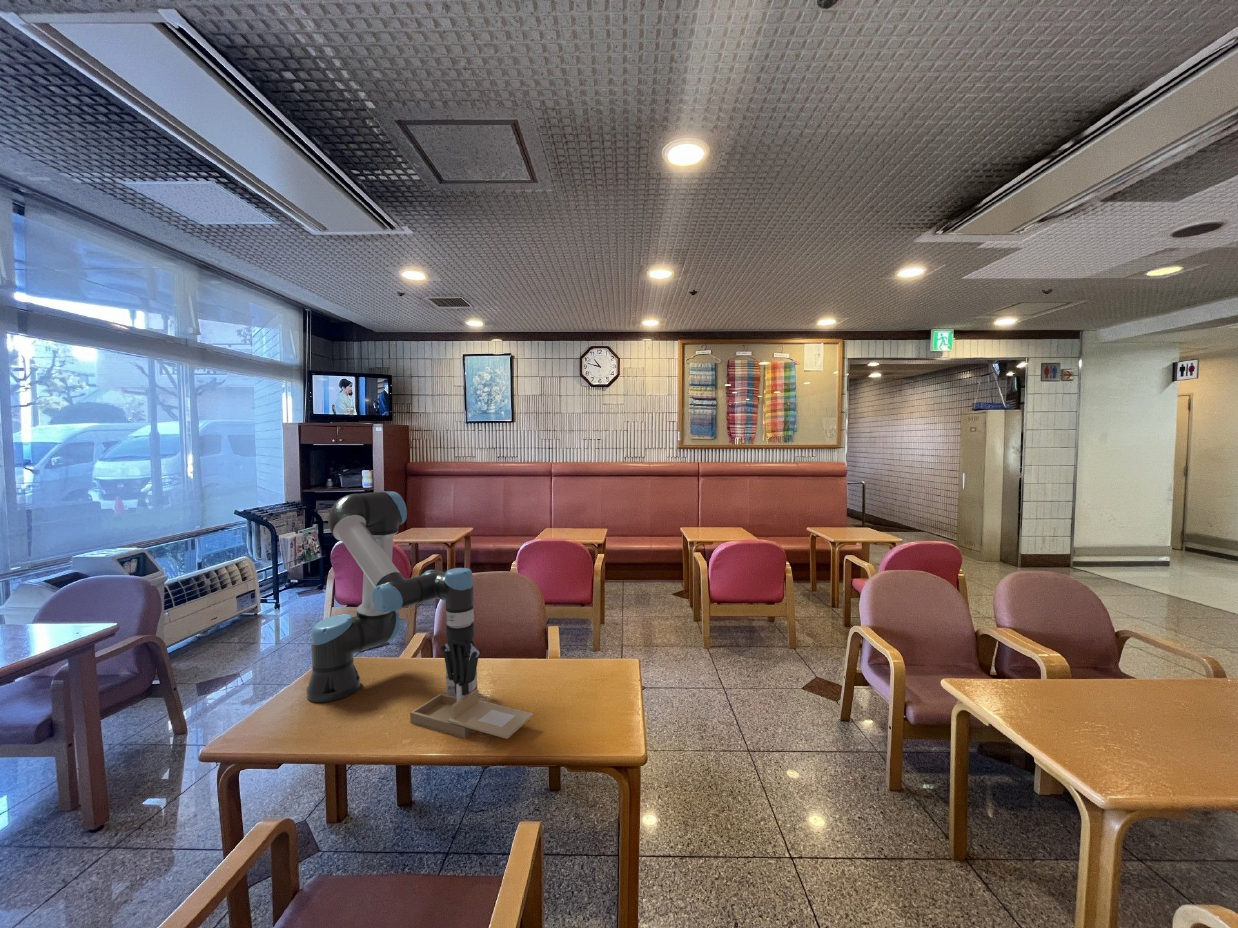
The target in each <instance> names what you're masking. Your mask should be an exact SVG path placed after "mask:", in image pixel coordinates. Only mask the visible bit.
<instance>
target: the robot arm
mask: <svg viewBox="0 0 1238 928" xmlns="http://www.w3.org/2000/svg"><path fill="white" fill-rule="evenodd" d="M407 516H408V511H407V505H406V503H405V501H404V499H403V497H402V496H401V494H400V493H398V492H396V491H392V490H391V491H384V490H383V491H382V490H381V491H373V492H364V493H363V492H362V493H351V494H347V495H345V496H343V497H340V498H339V499H338V500H337V501H336V502H335V503H334V504H333V506H332V507H331V508H330V511H329V513H328V520H327V521H328V522H327V523H328V528H329V530H330V532H331V534H332V535H333V537H334V539H336V540H337V541H341V542H342V543H343V544H344V546H345V548H346V549H347V551H348V552H349V553H350V554H351V556H352V558H353V559H354V560H355V562H356V563H357V565H358V567H359V568H360V569H361V571H362V572H363V577H362V579H363V580H362V598H361V599H362V600H361V604H360V605H357V608H356V615H355V616H353V615H350V614H347V613H345V614H344V613H341V614H339V615H337V614H335V615H331V616H329V617H325V618H324V619H321V620H320V621H318V622H317V623H315V624H314V626H313V627H312V628H311V635H310V636H311V638H310V644H311V646H310V647H311V668H312V669H311V670H312V671H311V676H310V678H309V681H308V686H307V688H306V698H307V700H308V701H310V702H311V703H327V702H334V701H337V700H340V699H344V698H346V697H348V696H351V695H352V694H354V693H355V692H357V691H358V690H359V689H360V687H361V678H360V675H359V672H358V670H357V668H356V666H355V662H354V654H355V653H358V652H362V651H365V650H369V649H371V648H374V647H377V646H381V645H385V644H386V643H388V642H391V641H393V640H394V639H395V638H397V636H398V634H399V632H400V630H401V626H402V625H401V622H402V621H401V617H400V611H399V610H400V609H404V608H407V607H411V606H415V605H417V604H422V603H426V602H430V601H433V600H437V599H439V600H442V601H445V614H446V615H445V617H446V618H445V621H446V631H445V632H446V635H445V636H446V639H447V642H446V643H445V644H444V645H442V646H440V650H441V652H442V654H443V657H444V663H445V669H446V668H447V673H448V678H449V680H453V682H454V683H455V694H456V696H457V702H458V701H459V700H461V699H462V698H464V697H465V696H467V694H468V693H469V683H470V682H472V681H474V679H475V674H476V668H477V669H478V662H479V657H480V655H481V653H482V650H481V648H479V649H477V648H476V647H475V642H474V640H473V639H474V635H475V624H474V622H475V621H474V620H475V616H474V615H475V613H474V612H475V611H474V584H475V583H474V579H473V571H472V570H471V568H468V567H467V568H466V567H455V568H451V569H448V570H446V571H442V570H438V569H428V570H425V572H423V573H422V574H420V575H418V576H413V577H410V578H405V577H404V576H403V575H402V573H401V572H400V570H399V569H398V568H397V566H396V565H395V564H394V563H393V548H394V547H393V546H394V536H395V535H397V534H398V533H399V527H400V525H401V526H402V524H404V523H405V522H406V520H407V519H408V518H407ZM469 658H470V659H469ZM452 673H453V674H452Z"/></svg>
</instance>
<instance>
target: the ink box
mask: <svg viewBox="0 0 1238 928" xmlns="http://www.w3.org/2000/svg"><path fill="white" fill-rule="evenodd" d="M469 659H470V658H469ZM477 671H478V667H477V668H476V674H475V679H474V681H472V682H470V683H469V693H468V694H470V693H471V692H473V691H474V690H478V672H477ZM452 674H453V673H452ZM445 684H446V685H445V686H446V689H445V690H446V695H450V696H454V697H457V696H456V694H455V683H454V682H453V680H449V678H448V673H447V668H446V667H445ZM468 694H467V695H468Z"/></svg>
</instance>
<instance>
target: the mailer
mask: <svg viewBox="0 0 1238 928" xmlns="http://www.w3.org/2000/svg"><path fill="white" fill-rule="evenodd" d="M456 702H457V697H454V696H450V695H447V693H446V694H445V693H438V695H435V696H434V697H432V698H431V699H429V700H428V701H425V703H423V704H421V705H419V706H418V707H416V708H415V709H413V710H412V711H410V712H409V717H410V718H409V720H410V722H409V723H410V724H414V725H417V726H420V727H424V728H426V729H431V730H433V731H438V732H441V733H445V734H447V735H450V736H454V737H457V738H460V739H464V740H466V739H467V738H468V737H469V736H471V735H472V734H473V733H475V732H476V731H477V730H474V729H470V728H467V727H463V726H460V725H456V724H453V723H449V722H448V719H450V718H451V717H452V710H451V706H452V705H453V704H455V703H456Z"/></svg>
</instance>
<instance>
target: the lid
mask: <svg viewBox="0 0 1238 928" xmlns="http://www.w3.org/2000/svg"><path fill="white" fill-rule="evenodd" d="M451 710H452V717H451V718H450V719H448V722H449V723H453V724H456V725H460V726H463V727H467V728H470V729H474V730H476V731H477V732H481V733H485V734H489V735H491V736H496V737H499V738H503V739H505V740H507V739H509V738H510V737H511V736H513V734H514V733H516V732H517V731H518V730H519V729H521V727H522V726H524V725H525V724H526V723H527V722H528V721H530V719H532V718H533V717H534V713H533V712H530V711H526V710H525V711H524V710H521V709H516V708H513V707H510V706H509V707H508V706H505V705H500V704H496V703H492V702H489V701H484V700H481V699H480V697H479V689H477V690H474V691H473V692H471V693H470V694H468V695H467V696H465V697H464V698H462V699H461V700H459V701H458V702H456V703H455V704H453V705H452V706H451Z"/></svg>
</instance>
